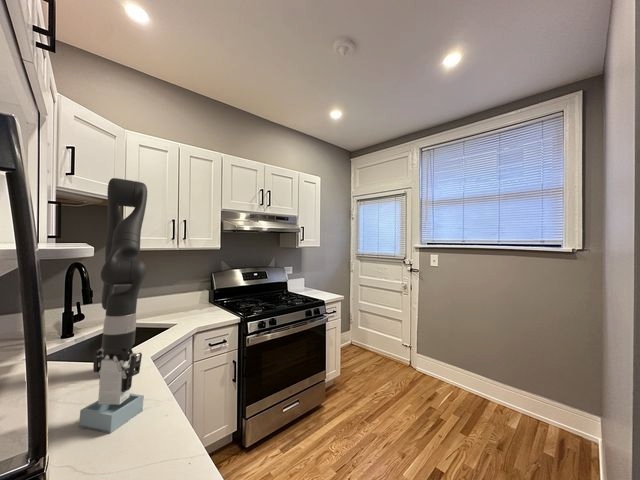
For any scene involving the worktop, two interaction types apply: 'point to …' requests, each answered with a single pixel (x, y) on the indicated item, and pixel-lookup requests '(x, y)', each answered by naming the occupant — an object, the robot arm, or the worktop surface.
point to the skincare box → (111, 383)
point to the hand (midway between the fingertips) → (114, 388)
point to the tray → (110, 414)
